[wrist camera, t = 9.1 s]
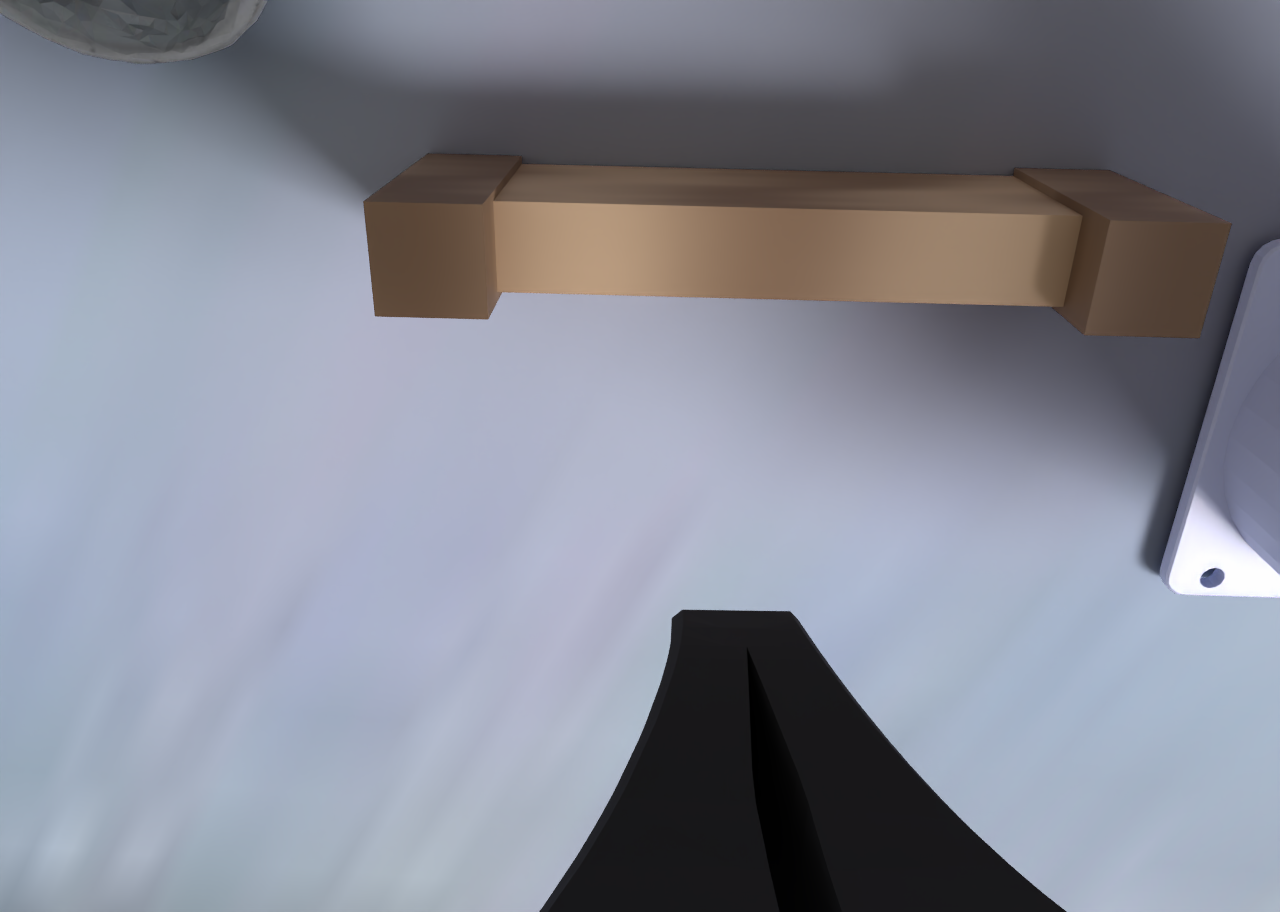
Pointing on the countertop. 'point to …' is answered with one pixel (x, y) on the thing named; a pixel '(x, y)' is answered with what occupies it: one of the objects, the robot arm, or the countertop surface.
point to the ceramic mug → (137, 26)
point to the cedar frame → (792, 239)
